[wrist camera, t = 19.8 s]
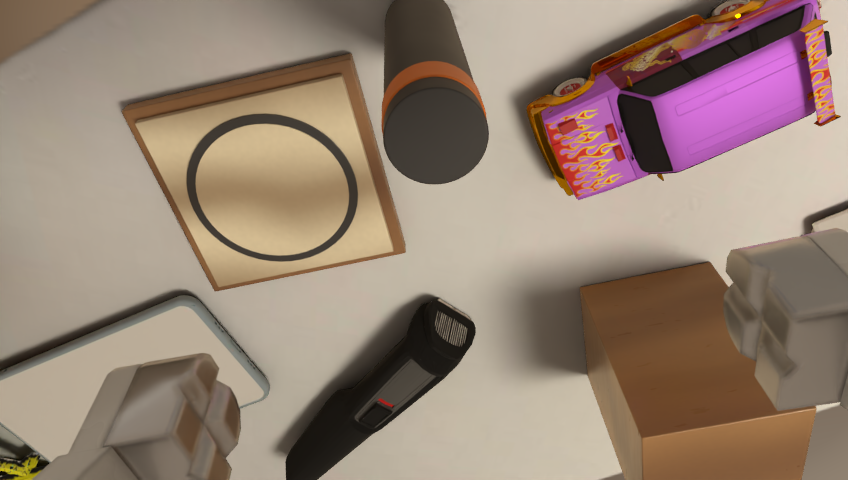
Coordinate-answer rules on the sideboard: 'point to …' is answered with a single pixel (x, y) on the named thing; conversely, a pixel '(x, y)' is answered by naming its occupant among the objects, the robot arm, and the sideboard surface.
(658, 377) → the brown block
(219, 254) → the ringed wooden coaster
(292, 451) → the electric trimmer
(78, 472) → the robot arm
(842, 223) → the laptop
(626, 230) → the sideboard surface
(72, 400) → the smartphone
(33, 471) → the toy
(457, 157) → the marker
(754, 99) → the toy car
